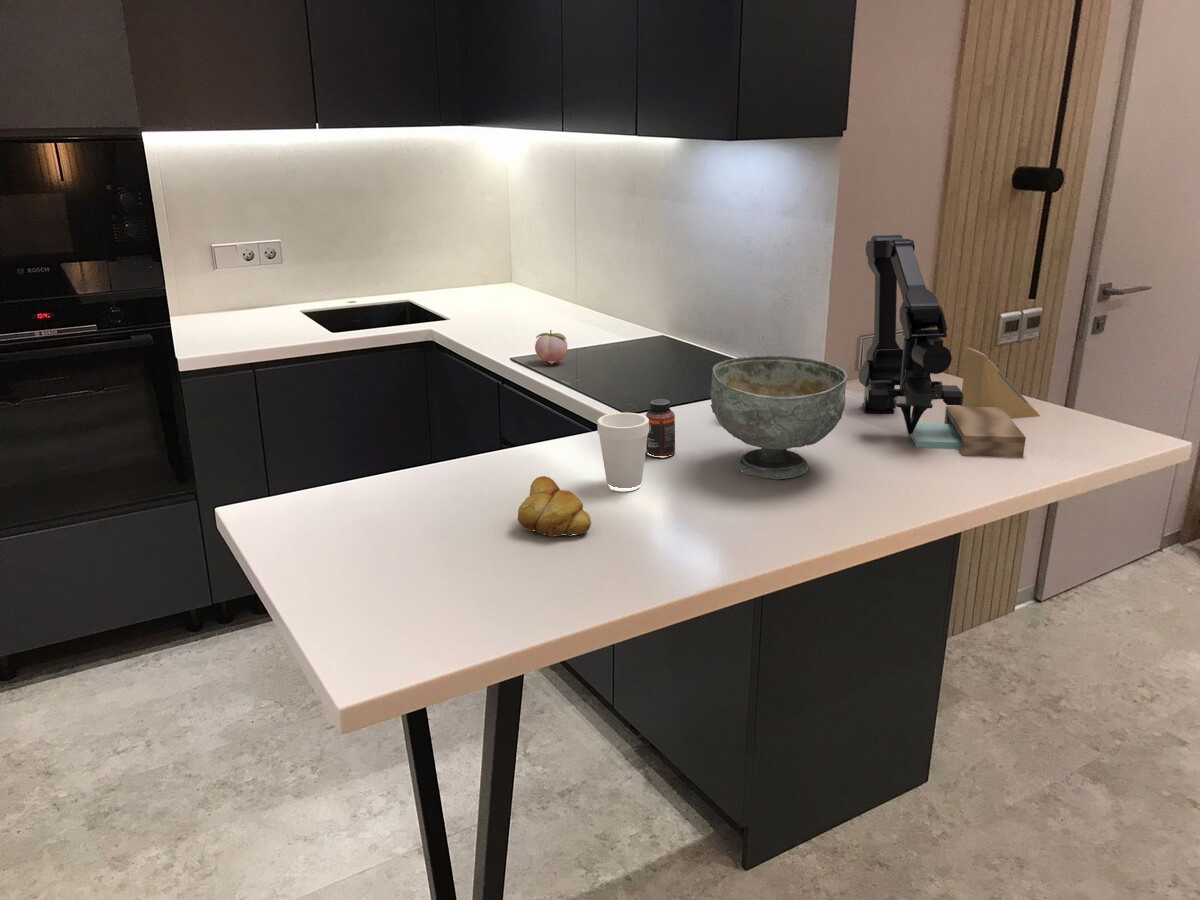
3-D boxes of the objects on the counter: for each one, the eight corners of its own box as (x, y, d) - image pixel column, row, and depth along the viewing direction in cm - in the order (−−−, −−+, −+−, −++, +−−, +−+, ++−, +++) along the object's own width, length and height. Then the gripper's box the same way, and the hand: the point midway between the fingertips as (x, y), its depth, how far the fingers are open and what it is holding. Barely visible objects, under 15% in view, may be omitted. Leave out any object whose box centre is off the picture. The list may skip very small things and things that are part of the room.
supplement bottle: (679, 451, 193) (679, 398, 189) (669, 460, 188) (669, 407, 184) (652, 448, 195) (652, 396, 191) (641, 457, 190) (641, 404, 186)
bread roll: (602, 529, 158) (601, 485, 155) (566, 550, 150) (564, 504, 148) (544, 512, 165) (542, 470, 162) (507, 531, 158) (504, 487, 155)
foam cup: (613, 498, 170) (612, 431, 165) (590, 482, 177) (588, 417, 173) (658, 488, 174) (658, 422, 169) (634, 473, 181) (633, 409, 177)
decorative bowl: (762, 434, 200) (765, 344, 192) (869, 464, 183) (876, 367, 175) (681, 472, 183) (681, 374, 175) (790, 509, 166) (795, 403, 158)
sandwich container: (1042, 417, 208) (1052, 351, 203) (977, 421, 207) (985, 355, 202) (1022, 406, 217) (1030, 342, 211) (959, 409, 215) (966, 346, 210)
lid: (915, 450, 192) (916, 441, 191) (907, 431, 203) (908, 422, 202) (977, 452, 190) (978, 443, 189) (965, 433, 201) (966, 424, 200)
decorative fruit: (572, 361, 266) (571, 326, 263) (564, 368, 259) (563, 333, 255) (540, 360, 268) (539, 326, 265) (532, 367, 261) (530, 332, 257)
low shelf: (962, 455, 186) (964, 435, 185) (944, 424, 205) (946, 406, 203) (1023, 457, 184) (1025, 437, 183) (999, 425, 203) (1001, 407, 202)
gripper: (873, 370, 185) (867, 444, 191) (972, 372, 182) (963, 447, 188) (868, 357, 196) (862, 427, 201) (961, 358, 193) (953, 430, 198)
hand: (909, 433), depth 197 cm, fingers closed
